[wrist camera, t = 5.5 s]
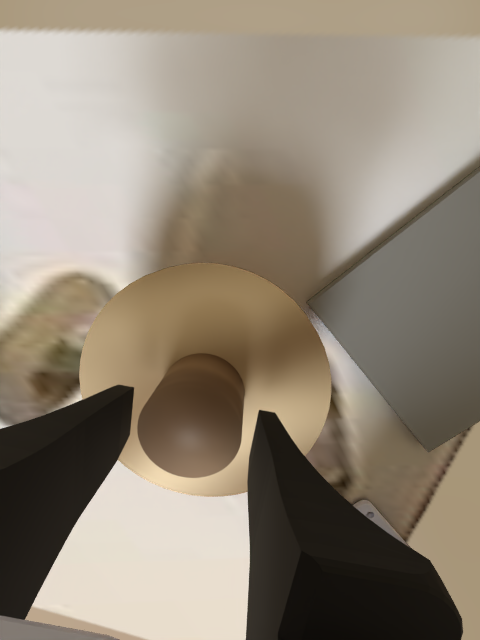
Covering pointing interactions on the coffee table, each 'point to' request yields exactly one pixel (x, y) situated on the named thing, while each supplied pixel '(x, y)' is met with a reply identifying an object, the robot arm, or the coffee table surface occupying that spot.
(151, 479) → the lid
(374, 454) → the coffee table surface
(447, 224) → the mat
